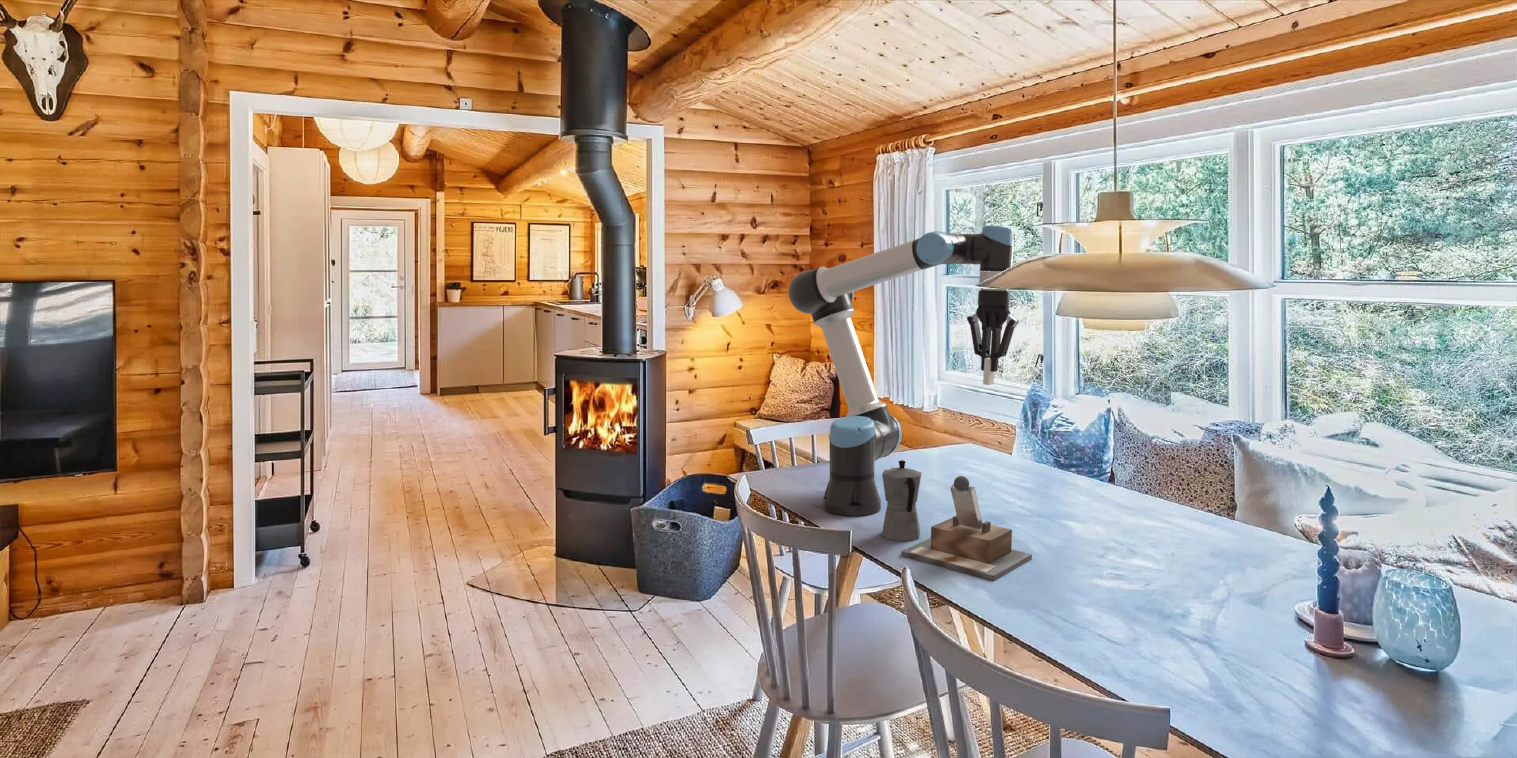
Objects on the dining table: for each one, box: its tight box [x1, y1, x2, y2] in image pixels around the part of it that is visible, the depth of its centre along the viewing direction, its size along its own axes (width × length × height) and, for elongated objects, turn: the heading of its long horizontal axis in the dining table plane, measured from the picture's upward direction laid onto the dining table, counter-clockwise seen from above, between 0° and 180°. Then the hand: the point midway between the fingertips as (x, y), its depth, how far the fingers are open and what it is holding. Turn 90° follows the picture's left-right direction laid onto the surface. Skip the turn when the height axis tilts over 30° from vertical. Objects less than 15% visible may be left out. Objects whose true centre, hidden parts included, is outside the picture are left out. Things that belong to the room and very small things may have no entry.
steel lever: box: [949, 475, 984, 529], centre depth 177 cm, size 5×3×13 cm, turn 47°
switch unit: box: [900, 514, 1033, 581], centre depth 179 cm, size 22×17×8 cm
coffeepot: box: [881, 459, 922, 542], centre depth 193 cm, size 15×9×18 cm, turn 6°
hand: (988, 384), depth 207 cm, fingers closed
